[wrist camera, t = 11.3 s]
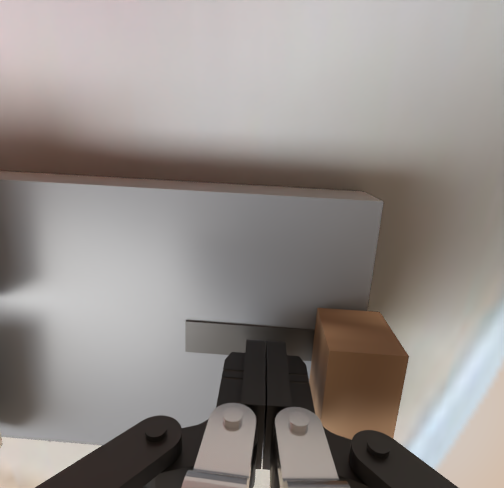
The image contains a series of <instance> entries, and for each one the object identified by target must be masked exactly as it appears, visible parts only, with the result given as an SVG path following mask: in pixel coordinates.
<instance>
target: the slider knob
mask: <svg viewBox="0 0 504 488" xmlns="http://www.w3.org/2000/svg"><path fill="white" fill-rule="evenodd" d="M408 358H409V356H408V354H407V353H406V351H405V350H404V348H403V347H402V345H401V344H400V342H399V341H398V339H397V337H396V336H395V334H394V333H393V331H392V330H391V328H390V327H389V325H388V324H387V322H386V321H385V319H384V317H383V316H382V314H381V313H380V312H373V311H358V310H343V309H329V308H317V315H316V324H315V333H314V342H313V351H312V361H311V370H310V379H309V384H310V388H311V394H312V399H313V404H314V410H315V414H316V415H317V416H318V417H319V419H320V420H321V422H322V425H323V427H324V428H326V429H327V430H329V431H330V432H332V433H334V434H336V435H339V436H342V437H345V438H348V439H351V440H352V438H353V437H354V435H355V434H356V433H358V432H360V431H363V430H374V431H378V432H381V433H384V434H386V435H388V436H390V437H391V438H393V436H394V431H395V426H396V421H397V416H398V410H399V405H400V400H401V395H402V389H403V384H404V379H405V374H406V369H407V363H408Z"/></svg>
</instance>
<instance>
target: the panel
mask: <svg viewBox="0 0 504 488" xmlns="http://www.w3.org/2000/svg"><path fill="white" fill-rule="evenodd" d="M382 209H383V201H381V200H379V199H378V198H376V197H374V196H372V195H370V194H368V193H366V192H364V191H350V190H333V189H315V188H297V187H280V186H262V185H244V184H227V183H209V182H191V181H173V180H156V179H138V178H120V177H103V176H85V175H67V174H50V173H32V172H14V171H0V433H1V437H10V438H22V439H34V440H45V441H57V442H69V443H81V444H93V445H104V444H106V443H107V442H109V441H110V440H112V439H114V438H115V437H117V436H118V435H120V434H122V433H123V432H125V431H126V430H128V429H130V428H131V427H133V426H134V425H136V424H138V423H139V422H141V421H143V420H144V419H146V418H149V417H152V416H158V415H163V416H169V417H172V418H174V419H175V420H177V421H178V422H179V424H180V425H181V428H185V427H190V426H194V425H198V424H201V423H203V422H205V421H206V420H208V419H209V416H210V414H211V412H212V411H213V410H214V409H215V408H216V405H217V399H218V394H219V389H220V383H221V379H222V372H223V367H224V361H225V359H226V358H227V357H228V356H229V354H230V353H231V352H242V353H245V351H246V340H247V339H249V340H265V352H266V341H282V342H285V343H286V352H287V355H291V356H299V357H300V358H301V359H302V360H303V362H304V363H305V364H306V367H307V372H308V378H309V379H310V370H311V361H312V351H313V342H314V333H315V324H316V315H317V308H329V309H343V310H358V311H367V309H368V302H369V296H370V289H371V282H372V276H373V269H374V262H375V256H376V249H377V242H378V236H379V229H380V222H381V216H382ZM262 459H263V448H262Z"/></svg>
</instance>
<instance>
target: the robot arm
mask: <svg viewBox="0 0 504 488" xmlns="http://www.w3.org/2000/svg"><path fill="white" fill-rule="evenodd" d="M262 448H263V469H268V470H270V488H458V487H457V486H455V485H454V484H453V483H451V482H450V481H449V480H447V479H446V478H445V477H443V476H442V475H441V474H439V473H438V472H437V471H435V470H434V469H433V468H431V467H430V466H429V465H427V464H426V463H425V462H423V461H422V460H421V459H419V458H418V457H417V456H415V455H414V454H413V453H411V452H410V451H409V450H407V449H406V448H405V447H403V446H402V445H401V444H399V443H398V442H397V441H395V440H394V439H393V438H391V437H390V436H388V435H386V434H384V433H381V432H378V431H374V430H363V431H360V432H358V433H356V434H355V435H354V437H353V438H352V440H351V439H348V438H345V437H342V436H339V435H336V434H334V433H332V432H330V431H329V430H327V429H326V428H324V427H323V425H322V422H321V420H320V419H319V417H318V416H317V415H316V414H315V410H314V404H313V399H312V394H311V388H310V384H309V378H308V372H307V367H306V364H305V363H304V362H303V360H302V359H301V358H300V357H299V356H291V355H287V352H286V343H285V342H282V341H266V352H265V340H249V339H247V340H246V351H245V353H242V352H231V353H230V354H229V356H228V357H227V358H226V359H225V361H224V367H223V372H222V379H221V383H220V389H219V394H218V399H217V405H216V408H215V409H214V410H213V411H212V412H211V414H210V416H209V419H208V420H206V421H205V422H203V423H201V424H198V425H194V426H190V427H185V428H181V425H180V424H179V422H178V421H177V420H175V419H174V418H172V417H169V416H163V415H158V416H152V417H149V418H146V419H144V420H143V421H141V422H139V423H138V424H136V425H134V426H133V427H131V428H130V429H128V430H126V431H125V432H123V433H122V434H120V435H118V436H117V437H115V438H114V439H112V440H110V441H109V442H107V443H106V444H104V445H102V446H101V447H99V448H98V449H96V450H95V451H93V452H91V453H90V454H88V455H87V456H85V457H83V458H82V459H80V460H79V461H77V462H75V463H74V464H72V465H71V466H69V467H67V468H66V469H64V470H63V471H61V472H59V473H58V474H56V475H55V476H53V477H51V478H50V479H48V480H47V481H45V482H43V483H42V484H40V485H39V486H37V487H35V488H253V486H254V482H255V470H256V469H261V462H262Z"/></svg>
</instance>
